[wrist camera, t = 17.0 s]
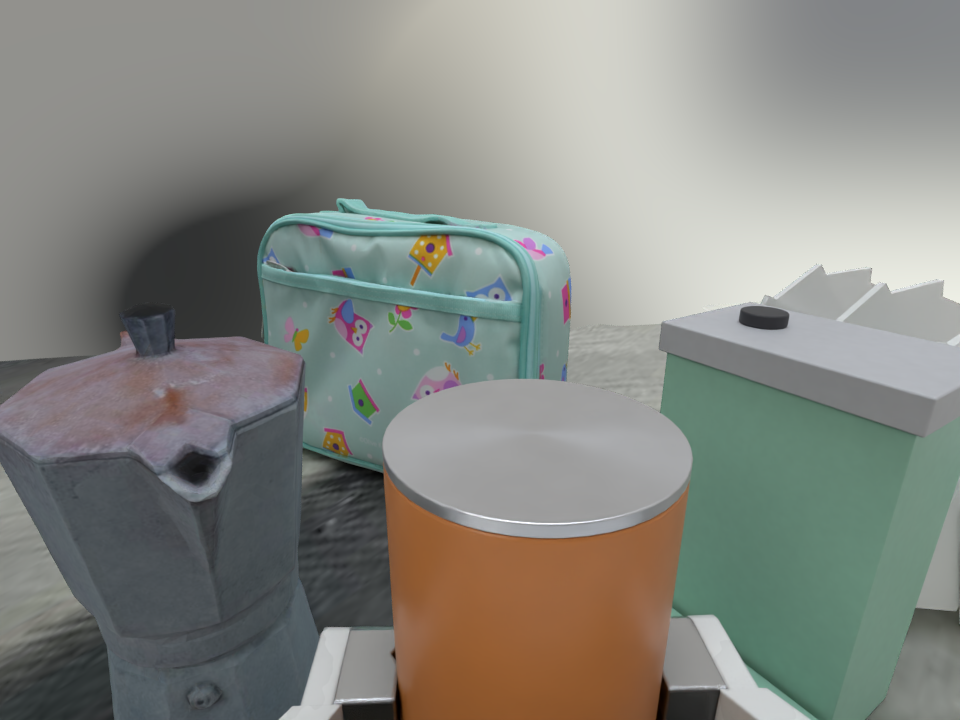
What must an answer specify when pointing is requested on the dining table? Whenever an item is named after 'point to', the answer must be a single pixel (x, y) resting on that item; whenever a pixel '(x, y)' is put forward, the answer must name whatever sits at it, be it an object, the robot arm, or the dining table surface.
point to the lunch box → (406, 313)
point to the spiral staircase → (904, 311)
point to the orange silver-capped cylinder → (532, 551)
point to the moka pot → (175, 514)
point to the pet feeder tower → (811, 491)
